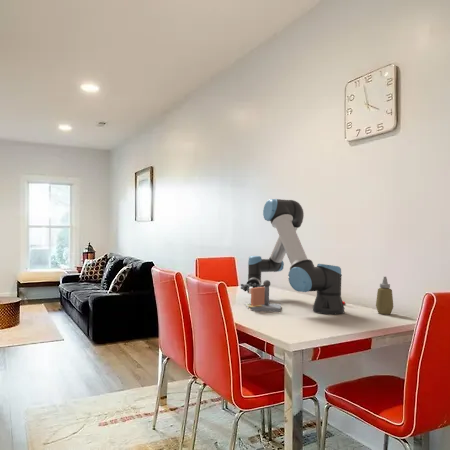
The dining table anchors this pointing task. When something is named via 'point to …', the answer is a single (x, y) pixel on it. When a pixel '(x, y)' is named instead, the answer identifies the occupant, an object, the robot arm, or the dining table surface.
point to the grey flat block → (266, 307)
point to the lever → (260, 294)
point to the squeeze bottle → (384, 298)
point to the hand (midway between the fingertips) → (250, 291)
